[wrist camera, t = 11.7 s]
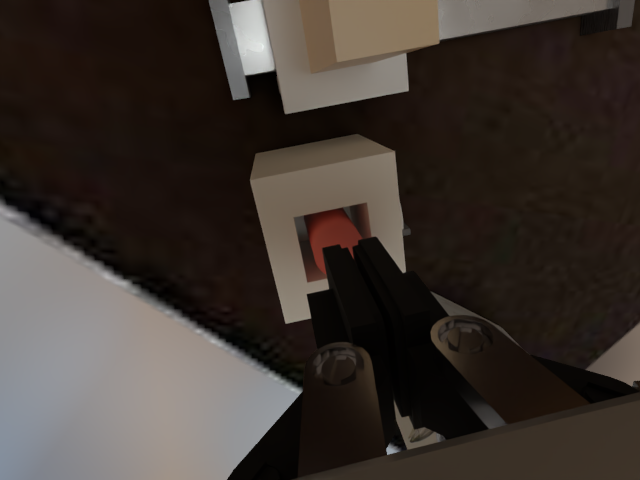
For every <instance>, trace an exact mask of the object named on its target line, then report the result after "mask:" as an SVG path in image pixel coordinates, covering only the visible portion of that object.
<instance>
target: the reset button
mask: <svg viewBox="0 0 640 480" xmlns="http://www.w3.org/2000/svg"><path fill="white" fill-rule="evenodd" d="M304 222H305V226H306V229H307V233H308V237H309V240H310V244H311V248H312V251H313V255H314V259H315V262H316V265H317V266H318V268H319V269H320V270H321V271H322V272H323V273H324V274H326V269H325V264H324V258H323V253H322V248H323V247H328V246H333V245H337V244H340V246H341V248H346V247H348V249H349V251H350V253H351V255H352V257H353V250H352V246H355V245H358V240H361V239H363V238H362V237H361V235H360V234H359V232H358V230H357V229H356V227H355V226H354V224H353V223H352V221H351V220H350V218H349V216H348V215H347V213H346V212H345V210H344V209H343V207H342V208H337V209H332V210H327V211H322V212H317V213H312V214H308V215H304ZM353 259H354V257H353Z"/></svg>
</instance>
